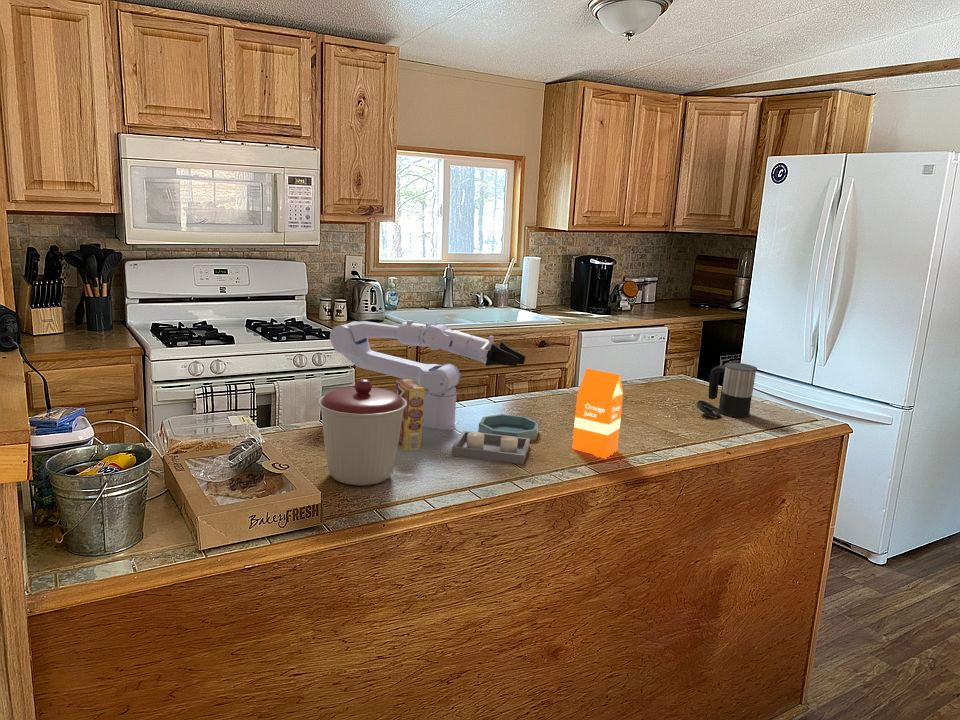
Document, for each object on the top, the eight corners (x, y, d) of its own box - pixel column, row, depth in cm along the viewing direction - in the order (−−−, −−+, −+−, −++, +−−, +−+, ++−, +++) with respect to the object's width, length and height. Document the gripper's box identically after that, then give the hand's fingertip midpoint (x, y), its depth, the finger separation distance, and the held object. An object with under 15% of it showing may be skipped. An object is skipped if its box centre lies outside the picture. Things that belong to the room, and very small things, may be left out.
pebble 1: (465, 450, 172) (465, 436, 171) (468, 445, 176) (469, 431, 175) (481, 452, 172) (482, 438, 171) (484, 447, 175) (485, 433, 175)
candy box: (422, 451, 172) (425, 388, 168) (405, 452, 170) (408, 389, 166) (409, 439, 179) (411, 378, 176) (392, 440, 177) (394, 379, 174)
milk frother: (753, 413, 222) (760, 365, 218) (741, 425, 208) (748, 374, 205) (706, 404, 229) (712, 358, 226) (691, 415, 216) (697, 366, 213)
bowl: (475, 440, 181) (475, 428, 181) (484, 423, 196) (485, 412, 195) (534, 446, 179) (535, 435, 179) (539, 429, 193) (540, 418, 193)
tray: (451, 457, 169) (452, 447, 168) (462, 440, 181) (462, 430, 180) (523, 466, 166) (524, 455, 165) (529, 448, 178) (530, 438, 178)
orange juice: (605, 459, 174) (613, 377, 169) (571, 450, 178) (578, 370, 174) (617, 450, 180) (626, 371, 176) (584, 442, 185) (592, 365, 180)
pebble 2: (498, 454, 171) (499, 440, 170) (501, 448, 175) (502, 434, 174) (515, 456, 170) (516, 442, 170) (517, 450, 174) (518, 436, 173)
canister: (408, 492, 147) (413, 391, 143) (316, 495, 143) (317, 391, 139) (399, 460, 164) (403, 369, 160) (316, 462, 161) (318, 368, 156)
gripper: (465, 331, 177) (518, 346, 174) (481, 330, 191) (531, 344, 188) (458, 359, 178) (511, 375, 175) (475, 356, 192) (524, 371, 188)
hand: (521, 361), depth 181 cm, fingers open, 7 cm apart
